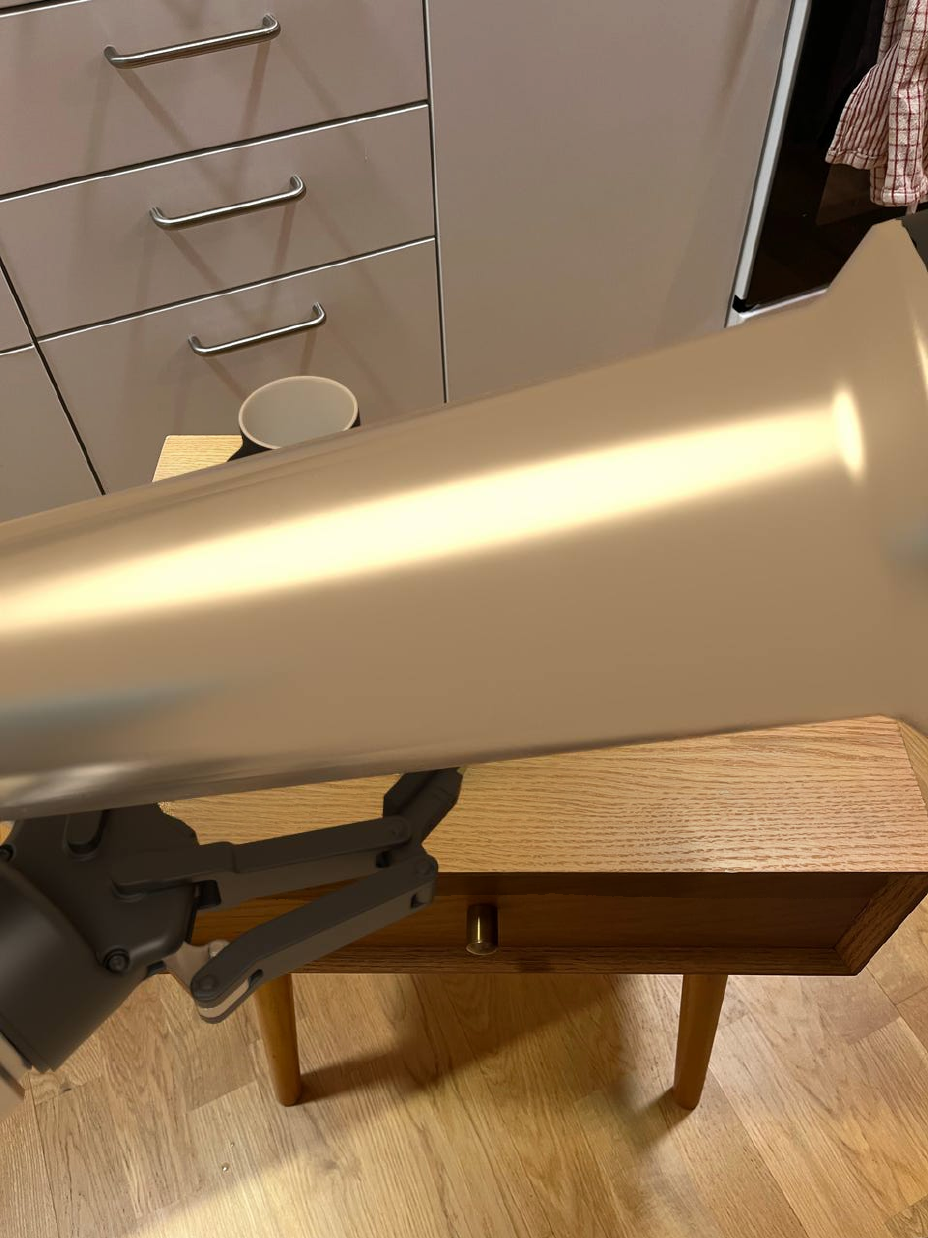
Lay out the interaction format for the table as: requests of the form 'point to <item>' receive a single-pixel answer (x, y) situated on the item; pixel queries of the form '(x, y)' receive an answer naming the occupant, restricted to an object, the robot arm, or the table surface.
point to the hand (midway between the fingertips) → (371, 639)
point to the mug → (294, 413)
